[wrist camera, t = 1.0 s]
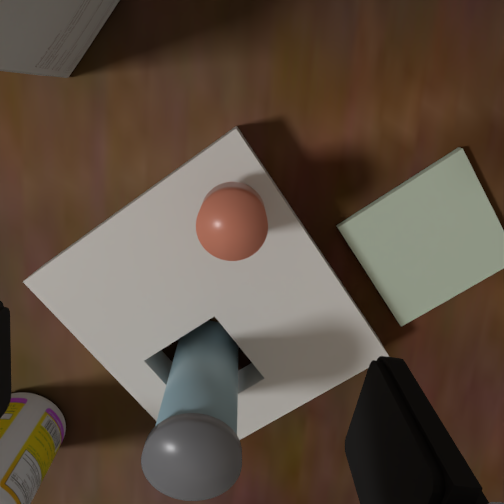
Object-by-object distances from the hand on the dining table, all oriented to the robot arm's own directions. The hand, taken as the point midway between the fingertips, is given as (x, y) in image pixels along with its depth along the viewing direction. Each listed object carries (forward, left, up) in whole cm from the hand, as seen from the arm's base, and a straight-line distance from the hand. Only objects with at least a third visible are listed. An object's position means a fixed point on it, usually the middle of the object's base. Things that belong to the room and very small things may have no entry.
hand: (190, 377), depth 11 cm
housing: (-6, +5, -21) cm, 22 cm away
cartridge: (-9, +8, -21) cm, 24 cm away
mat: (-11, -11, -21) cm, 26 cm away
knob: (0, -1, -19) cm, 19 cm away
